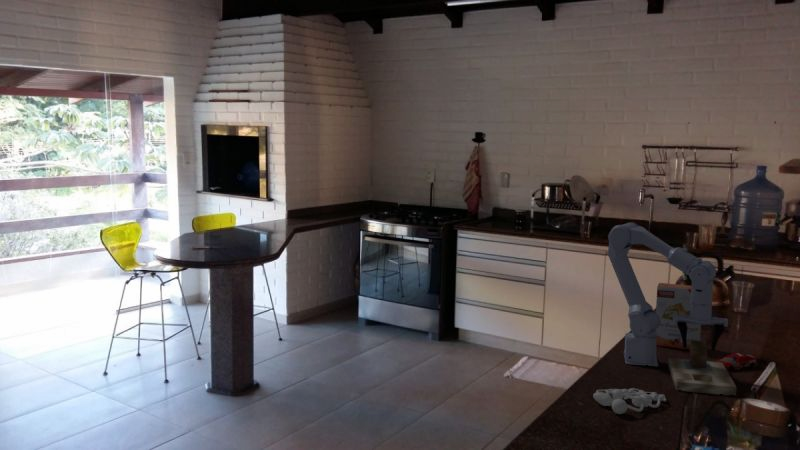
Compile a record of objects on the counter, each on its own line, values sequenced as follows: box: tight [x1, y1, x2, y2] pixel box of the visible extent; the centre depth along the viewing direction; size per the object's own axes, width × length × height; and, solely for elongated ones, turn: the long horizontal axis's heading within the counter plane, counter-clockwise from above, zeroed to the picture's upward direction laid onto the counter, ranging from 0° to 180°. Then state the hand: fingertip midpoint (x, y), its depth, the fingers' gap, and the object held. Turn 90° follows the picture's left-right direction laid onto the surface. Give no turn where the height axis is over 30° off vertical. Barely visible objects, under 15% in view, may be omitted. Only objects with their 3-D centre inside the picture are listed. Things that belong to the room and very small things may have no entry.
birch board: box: [667, 357, 738, 397], centre depth 184 cm, size 15×20×3 cm
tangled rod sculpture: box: [592, 387, 667, 415], centre depth 168 cm, size 19×14×4 cm
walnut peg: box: [689, 340, 709, 368], centre depth 188 cm, size 4×4×7 cm
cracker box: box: [655, 282, 702, 351], centre depth 213 cm, size 14×6×21 cm, turn 62°
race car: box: [715, 352, 758, 372], centre depth 194 cm, size 13×5×4 cm, turn 106°
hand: (698, 348), depth 188 cm, fingers open, 7 cm apart
